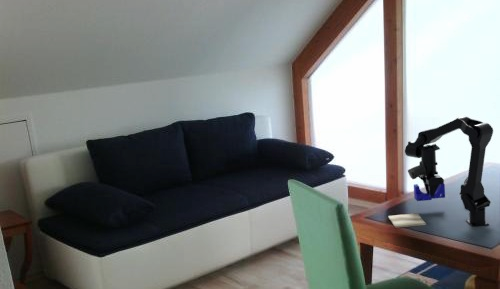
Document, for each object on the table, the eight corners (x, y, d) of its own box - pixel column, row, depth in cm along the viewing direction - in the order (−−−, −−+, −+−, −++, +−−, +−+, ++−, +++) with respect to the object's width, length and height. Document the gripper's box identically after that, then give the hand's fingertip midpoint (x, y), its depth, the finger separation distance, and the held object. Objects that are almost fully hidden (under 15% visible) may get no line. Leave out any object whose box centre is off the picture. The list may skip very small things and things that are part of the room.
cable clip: (417, 201, 216) (416, 187, 215) (414, 197, 221) (413, 184, 220) (446, 198, 215) (445, 185, 214) (442, 195, 220) (442, 182, 219)
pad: (425, 224, 204) (425, 223, 204) (395, 227, 204) (395, 226, 204) (417, 214, 216) (416, 213, 215) (388, 217, 216) (388, 215, 216)
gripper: (403, 156, 224) (405, 190, 227) (415, 167, 206) (417, 204, 209) (428, 153, 224) (430, 188, 227) (443, 164, 205) (445, 201, 209)
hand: (430, 195), depth 218 cm, fingers closed on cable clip, 4 cm apart
